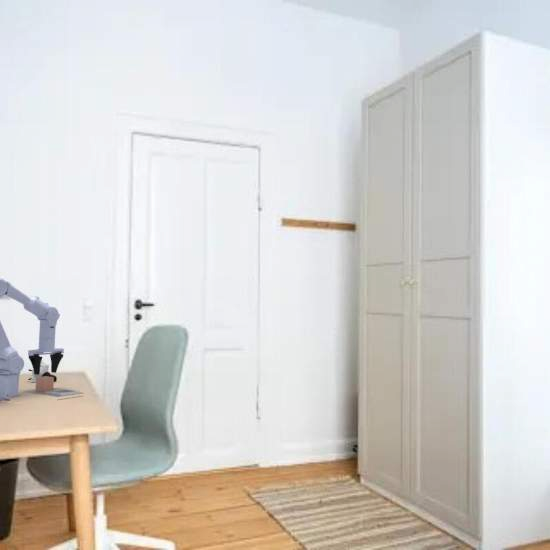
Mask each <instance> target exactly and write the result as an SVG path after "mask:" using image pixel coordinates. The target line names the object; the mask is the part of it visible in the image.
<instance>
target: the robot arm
mask: <svg viewBox="0 0 550 550" xmlns="http://www.w3.org/2000/svg"><path fill="white" fill-rule="evenodd" d="M3 296H7V297H9V298H10V299H12V300H15V301H16V302H18V303H20V304H22V305H23V309H24V310H25V311H27V312H29V313H30V314H32V315H34V316H36V318H37V320H38V321H39V332H38V333H39V335H38V348H37V349H30V350H29V349H28V351H27V353H28V354H27V356H28V359H29V361H30V364H31V365H32V370H34V374H36V375H39V373H40V364H41V360H42V361H43V356H42V355H49V357H50V364H51V365H50V366H51V367H50V371H51V374H52V373H53V374H56V373H57V371H58V368H59V365H60V363H61V361H62V359H63V358H64V353H65V352H64V351H65V348H63V347H62V348H60V347H58V348H56V346H55V345H56V329H57V328H56V327H57V325H58V324H57V321H58V320H59V319H60V315H61V314H60V313H59V310H58V309H57V308H56V307H53V306H50V305H49V303H48V302H45V301H42V300H40V297H39V296H32V295H31V296H28V295H27V294H26V293H24V292H22V291H21V290H20V289H18V288H17V287H16V286H14V285H12V284H11V282H9V281H6V280H5V279H3V278H1V277H0V300H1V299H2V298H3ZM24 366H25V360H24V358H23V357H22V356H20V354H19V352H18V351H17V350H16V349H15V348H14V347H12V345H11V343H10V341H9V338H8V336H7V334H6V332H5V328H4V327H3V324H2V323H1V321H0V401H1V402H2V401H3V402H4V401H5V402H9V401H11V399H8V398H12V397H17V396H19V386H20V374H21V372H22V371H23V369H24Z"/></svg>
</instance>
